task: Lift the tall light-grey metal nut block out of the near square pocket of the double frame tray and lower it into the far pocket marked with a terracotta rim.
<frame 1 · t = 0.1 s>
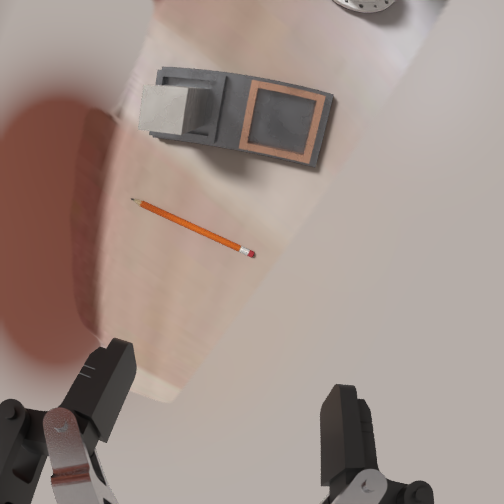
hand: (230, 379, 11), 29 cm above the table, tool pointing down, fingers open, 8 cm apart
nut block: (187, 105, 32), point 1 cm above the table, touching double frame tray
double frame tray: (239, 111, 33), on the table
pencil: (191, 223, 41), on the table
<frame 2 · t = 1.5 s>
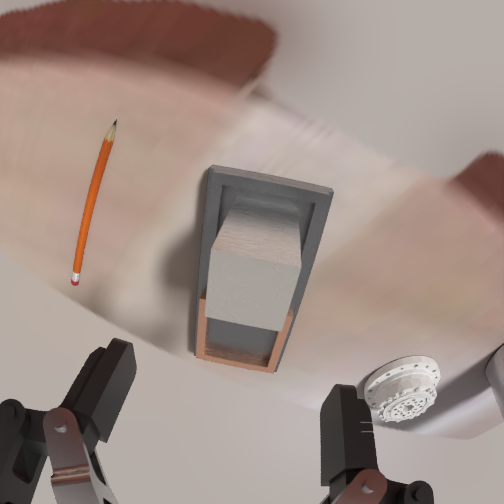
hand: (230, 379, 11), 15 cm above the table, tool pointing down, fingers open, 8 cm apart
nut block: (261, 229, 23), point 1 cm above the table, touching double frame tray
double frame tray: (250, 285, 27), on the table
mechanical component: (400, 378, 32), on the table
pencil: (91, 211, 26), on the table
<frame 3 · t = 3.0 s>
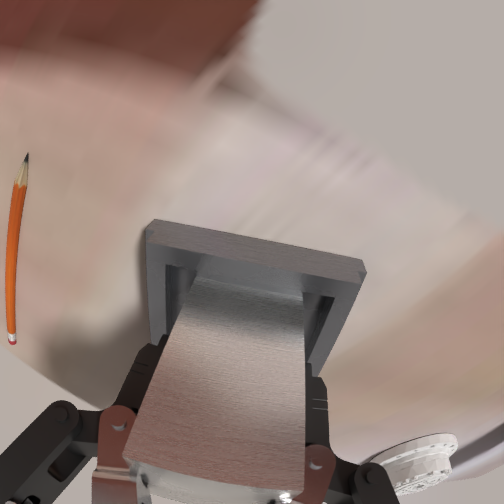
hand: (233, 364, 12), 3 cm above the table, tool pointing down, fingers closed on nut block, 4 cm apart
nut block: (241, 325, 14), point 1 cm above the table, touching gripper, double frame tray
double frame tray: (230, 381, 17), on the table
mechanical component: (412, 451, 23), on the table
pencil: (15, 269, 16), on the table
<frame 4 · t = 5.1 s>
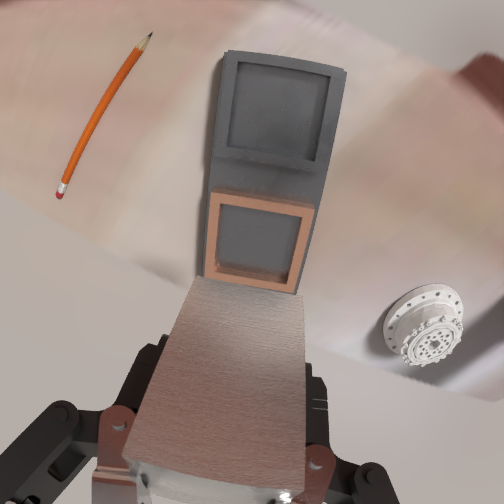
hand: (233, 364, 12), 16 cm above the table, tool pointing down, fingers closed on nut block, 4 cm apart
nut block: (241, 325, 14), point 14 cm above the table, touching gripper
double frame tray: (266, 181, 24), on the table
mechanical component: (421, 316, 30), on the table
pencil: (98, 119, 23), on the table
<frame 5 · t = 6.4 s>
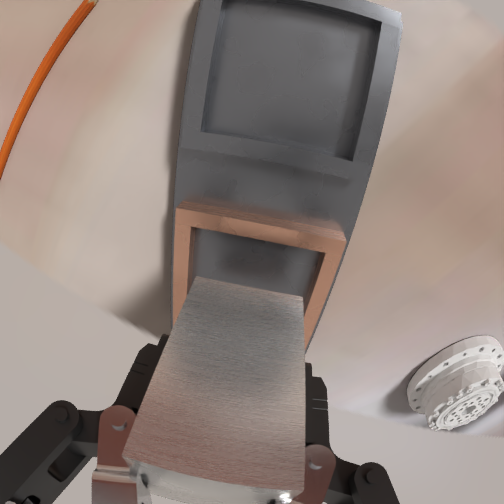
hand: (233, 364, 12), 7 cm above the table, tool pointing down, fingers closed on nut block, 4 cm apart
nut block: (241, 325, 14), point 5 cm above the table, touching gripper
double frame tray: (267, 190, 15), on the table
mechanical component: (454, 370, 21), on the table
pencil: (33, 101, 14), on the table
when the fingers open (3 cm above the table, at t = 7.4 s): nut block stays where it is, resting on double frame tray.
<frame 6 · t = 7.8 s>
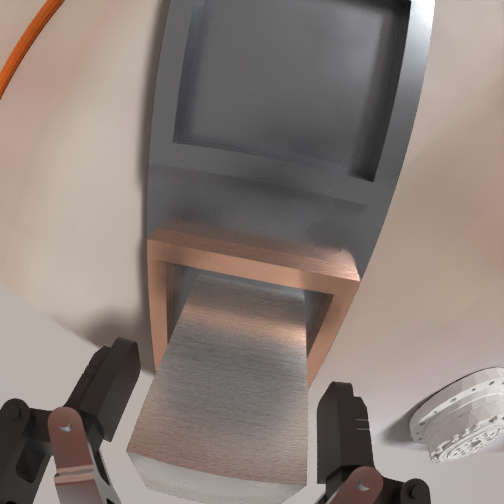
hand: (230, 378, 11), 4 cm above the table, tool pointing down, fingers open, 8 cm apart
nut block: (243, 323, 14), point 1 cm above the table, touching double frame tray
double frame tray: (262, 214, 12), on the table
mechanical component: (460, 401, 19), on the table
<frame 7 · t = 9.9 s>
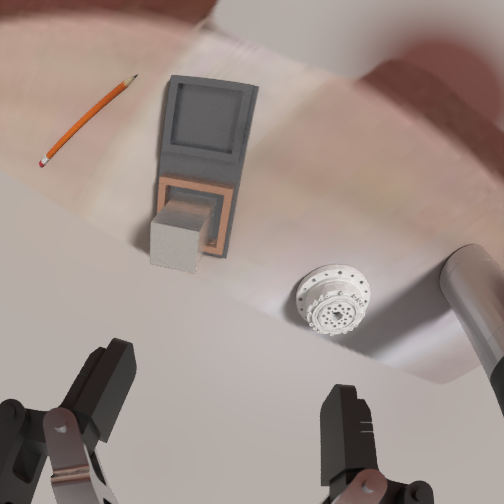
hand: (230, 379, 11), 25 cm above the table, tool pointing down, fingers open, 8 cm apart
nut block: (194, 213, 34), point 1 cm above the table, touching double frame tray
double frame tray: (201, 169, 32), on the table
mechanical component: (332, 293, 40), on the table
pencil: (84, 121, 30), on the table
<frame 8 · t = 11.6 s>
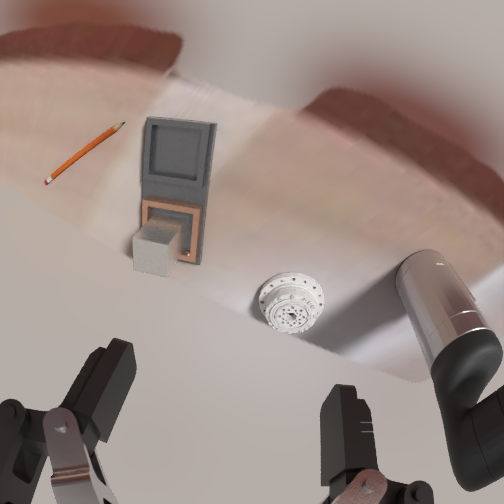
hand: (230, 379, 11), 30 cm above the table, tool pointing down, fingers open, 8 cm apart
nut block: (171, 228, 41), point 1 cm above the table, touching double frame tray
double frame tray: (175, 192, 40), on the table
mechanical component: (291, 297, 47), on the table
pencil: (82, 153, 38), on the table
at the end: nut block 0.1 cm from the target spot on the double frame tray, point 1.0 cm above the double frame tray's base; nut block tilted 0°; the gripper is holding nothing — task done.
